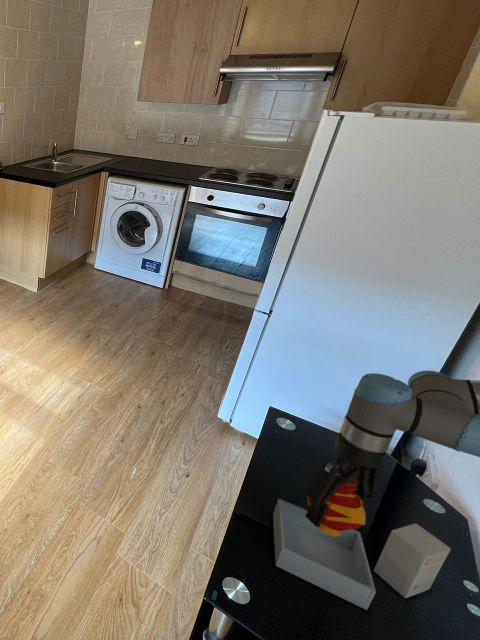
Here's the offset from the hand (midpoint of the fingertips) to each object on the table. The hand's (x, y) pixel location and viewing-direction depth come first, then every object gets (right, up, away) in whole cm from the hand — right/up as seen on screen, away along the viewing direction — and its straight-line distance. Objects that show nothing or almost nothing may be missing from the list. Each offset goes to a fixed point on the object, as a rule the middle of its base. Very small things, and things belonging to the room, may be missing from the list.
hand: (330, 517), depth 94 cm
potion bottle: (0, -3, +1) cm, 3 cm away
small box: (+16, -14, 0) cm, 21 cm away
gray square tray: (0, -12, +4) cm, 13 cm away
